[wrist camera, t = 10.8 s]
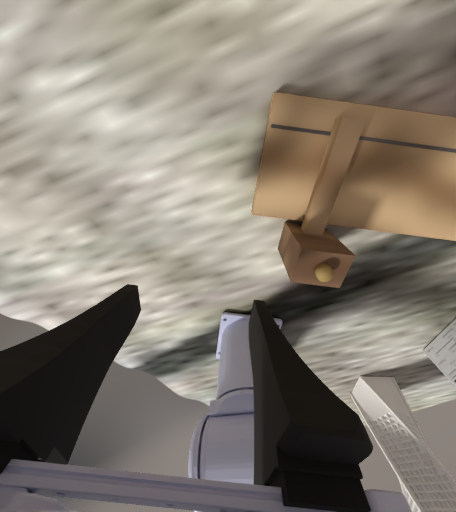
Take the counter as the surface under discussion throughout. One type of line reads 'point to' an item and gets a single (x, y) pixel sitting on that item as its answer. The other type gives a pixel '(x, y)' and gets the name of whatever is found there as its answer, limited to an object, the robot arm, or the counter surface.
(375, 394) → the skyscraper
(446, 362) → the light bulb box
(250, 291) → the counter surface
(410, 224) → the board
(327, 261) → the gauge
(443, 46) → the counter surface
